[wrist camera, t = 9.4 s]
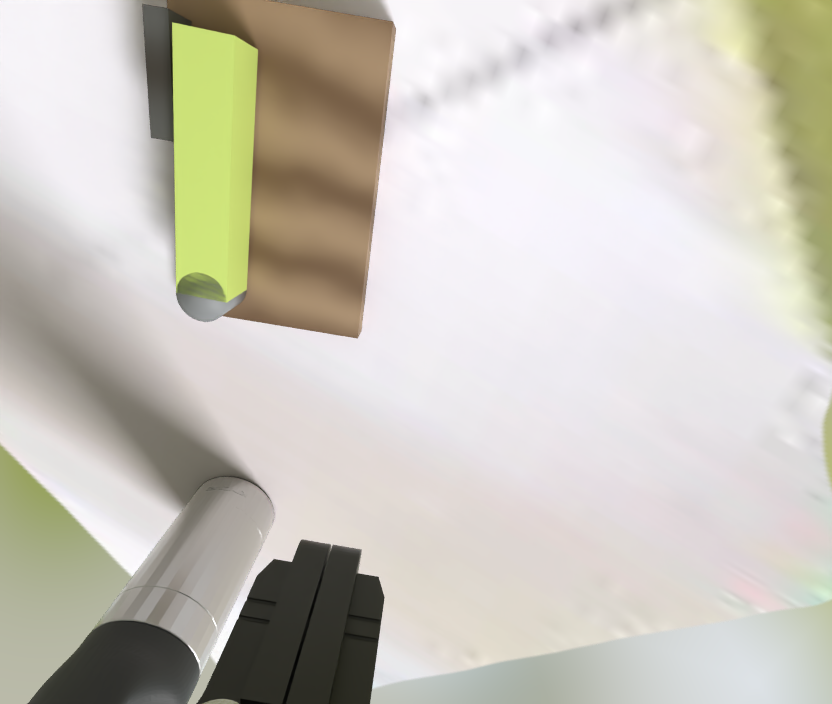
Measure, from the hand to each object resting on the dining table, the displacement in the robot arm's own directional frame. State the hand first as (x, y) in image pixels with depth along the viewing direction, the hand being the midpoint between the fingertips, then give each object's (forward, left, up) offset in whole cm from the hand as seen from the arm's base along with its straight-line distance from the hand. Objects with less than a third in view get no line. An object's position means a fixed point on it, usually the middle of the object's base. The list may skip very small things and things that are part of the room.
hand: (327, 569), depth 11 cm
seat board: (+6, +12, -32) cm, 35 cm away
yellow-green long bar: (+5, +16, -30) cm, 34 cm away
